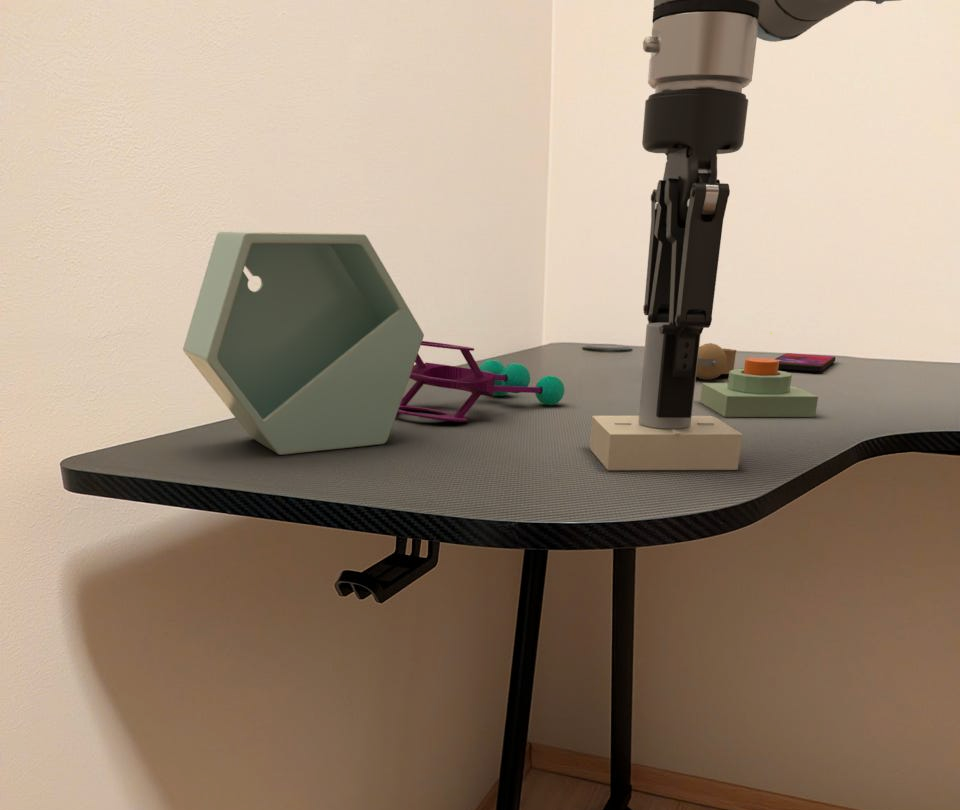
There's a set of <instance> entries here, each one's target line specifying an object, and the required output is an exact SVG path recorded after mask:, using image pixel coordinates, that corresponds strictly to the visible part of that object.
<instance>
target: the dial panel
mask: <svg viewBox="0 0 960 810" xmlns="http://www.w3.org/2000/svg"><path fill="white" fill-rule="evenodd" d="M638 420H639V415H592V416H591V427H590V443H589V450H590V451H591V452H592V453H593V454H594V456H595V457H596V458H597V459H598V461H599V462H600V463H601V464H602V465H603V467H604V468H605V469H606V470H607V471H739V464H740V457H741V449H742V443H743V442H742V441H743V433H741V432H739V431H738V430H736V429H735V428H733V427H731V426H730V425H728V424H727V423H725V422H723V421H722V420H721V419H718V418H717V417H715V416H714V415H692V417H691V425H690V426H689V427H686V428H679V429H662V428H653V427H647V426H643V425H641V424H639V422H638Z"/></svg>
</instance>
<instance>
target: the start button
mask: <svg viewBox="0 0 960 810" xmlns="http://www.w3.org/2000/svg"><path fill="white" fill-rule="evenodd" d="M778 367H779V360H776V358H768V357H767V358H766V357H748V358H745V359H744V366H743V369H744V374H750V375H762V376H773V375H777V374H778V371H779V369H778Z"/></svg>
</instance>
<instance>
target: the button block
mask: <svg viewBox="0 0 960 810" xmlns="http://www.w3.org/2000/svg"><path fill="white" fill-rule="evenodd" d="M792 377H793V374H792V373H791V372H788V371H783V370H778V374H777V375H773V376H762V375H750V374H744V368H734V370H731V371H730V372H729V374H728V378H727V382H702V383H701V392H700V401H699V402H700V403H701V404H702V405H704V406H705V407H707V408H709V409H711V410H713V411H714V412H716V413H717V414H719V415H721V416H722V417H724V418H815V417H816V413H817V406H818V401H819V396H818V395H816V394H814V393H811V392H808V391H806V390H803V389H801V388H799V387H796V386H795V385H792Z"/></svg>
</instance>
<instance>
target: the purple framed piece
mask: <svg viewBox="0 0 960 810" xmlns="http://www.w3.org/2000/svg"><path fill="white" fill-rule="evenodd" d="M421 346H425V347H432V348H439V349H449V350H458V351H460V353H461V355H462V356H463V358H464V360H465V361H466V364H467V365H468V367H469V368H467V367H463V366H462V367H461V366H456V365H449V364H441V363H434V362H424V360H423V359H422V357H421V356H420V354H419V353H418V354H417V357H416V360H415V363H414V366H413V369H412V372H411V375H410V377H409V380H411V381H412V380H413V381H415V383H414V384H413V385H412V387H411V388H410V389H409V390H408V391H407V392H406V393H405V395H403V398H402V400H401V403H400V406H399V409H398V412H397V414H402V415H407V416H413V417H416V418H417V417H419V418H424V419H432V420H438V421H445V422H456V423H457V422H458V423H459V422H460V423H461V422H462V423H464V422H465V423H466V422H468V420H469V419H468V417H467V416H466V414H467V413H468V412H469V411H470V409H471V408H472V407H473V406H474V405H475V403H477V401H478V399H479V398H480V397H481V396H486V397H492V398H494V396H498V397H503V396H506V395H508V394H509V393H512V394H519V393H520V394H521V393H532V394H533V393H534V394H535V397H536V398H537V401H538V402H539V403H541V404H543V405H546V406H553V405H556V404H559V402H560V401H562V399H563V397H564V395H565V385H564V383H563V381H562V379H560V378H559V377H557V376H555V375H544V376H542V377H541V378H540V379H539V380H538V381H537V382H536V384H535V386H529V385H530V382H531V375H530V372H529V371H530V370H529V369H528V367H526V366H525V365H524V364H522V363H514V362H513V363H509V364H507V365H506V366H504V364H503V363H502V362H501V361H499V360H497V359H496V360H495V359H488V360H484V361H483V362H482V363H481V364H480V365H478V363H477V361H476V360H475V358H474V356H473V354H472V353H471V351H472V352H475V348H474V347H469V346H463V345H458V344H457V345H456V344H449V343H442V342H435V341H428V340H422V343H421ZM424 385H427V386H432V387H437V388H438V387H439V388H443V389H451V390H457V391H464V392H468V393H471V394H470V396H469V397H467V399H466V401H464V403H463V404H462V406H461V407H460V408H458V410H457V412H456V413H453V412H449V411H446V410H445V411H443V410H440V409H434V408H428V407H424V406H423V407H422V406H416V405H411V404H409V403H410V402H411V401H412V400H413V398H414V397H415V396H416V395H417V393H418V392H419V391H420V390H421V389H422V387H423V386H424ZM406 410H415V411H416V410H417V411H423V412H431V413H435V414H427V413H419V412H412V411H406Z"/></svg>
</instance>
